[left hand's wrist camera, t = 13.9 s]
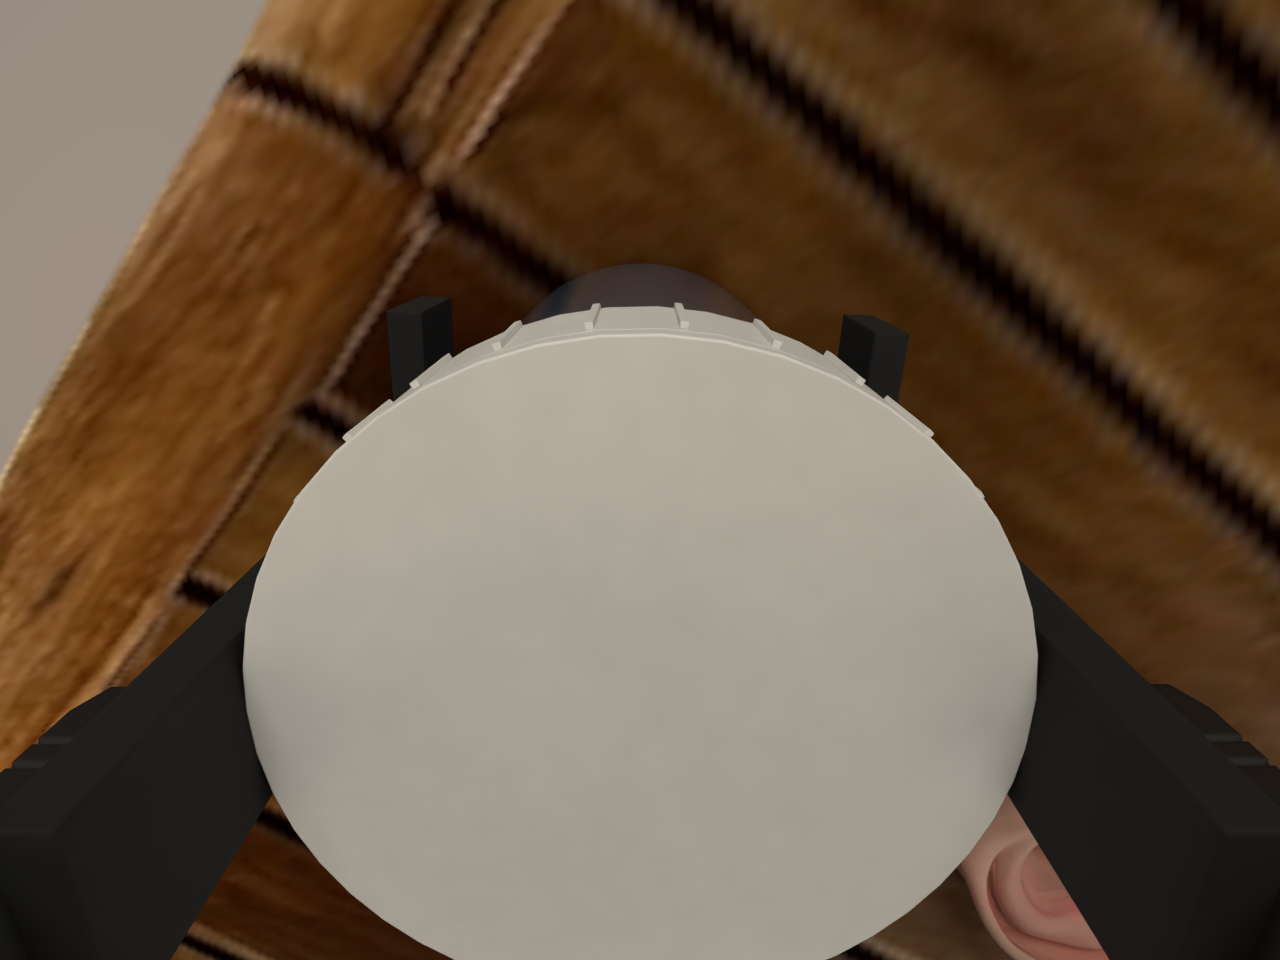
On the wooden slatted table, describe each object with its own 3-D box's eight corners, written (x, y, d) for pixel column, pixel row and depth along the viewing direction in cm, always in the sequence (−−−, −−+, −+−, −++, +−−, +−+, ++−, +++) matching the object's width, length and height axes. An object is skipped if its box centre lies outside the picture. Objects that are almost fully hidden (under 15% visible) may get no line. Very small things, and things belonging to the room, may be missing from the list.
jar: (665, 194, 23) (709, 186, 8) (844, 437, 26) (1114, 751, 11) (432, 393, 25) (143, 660, 10) (619, 597, 28) (596, 1035, 13)
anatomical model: (1021, 717, 24) (1356, 752, 25) (971, 648, 28) (1263, 681, 29) (918, 997, 29) (1202, 1022, 30) (886, 906, 33) (1139, 930, 33)
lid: (665, 124, 10) (672, 103, 8) (1099, 653, 13) (1194, 749, 10) (173, 615, 12) (71, 705, 10) (624, 963, 15) (621, 1092, 13)
